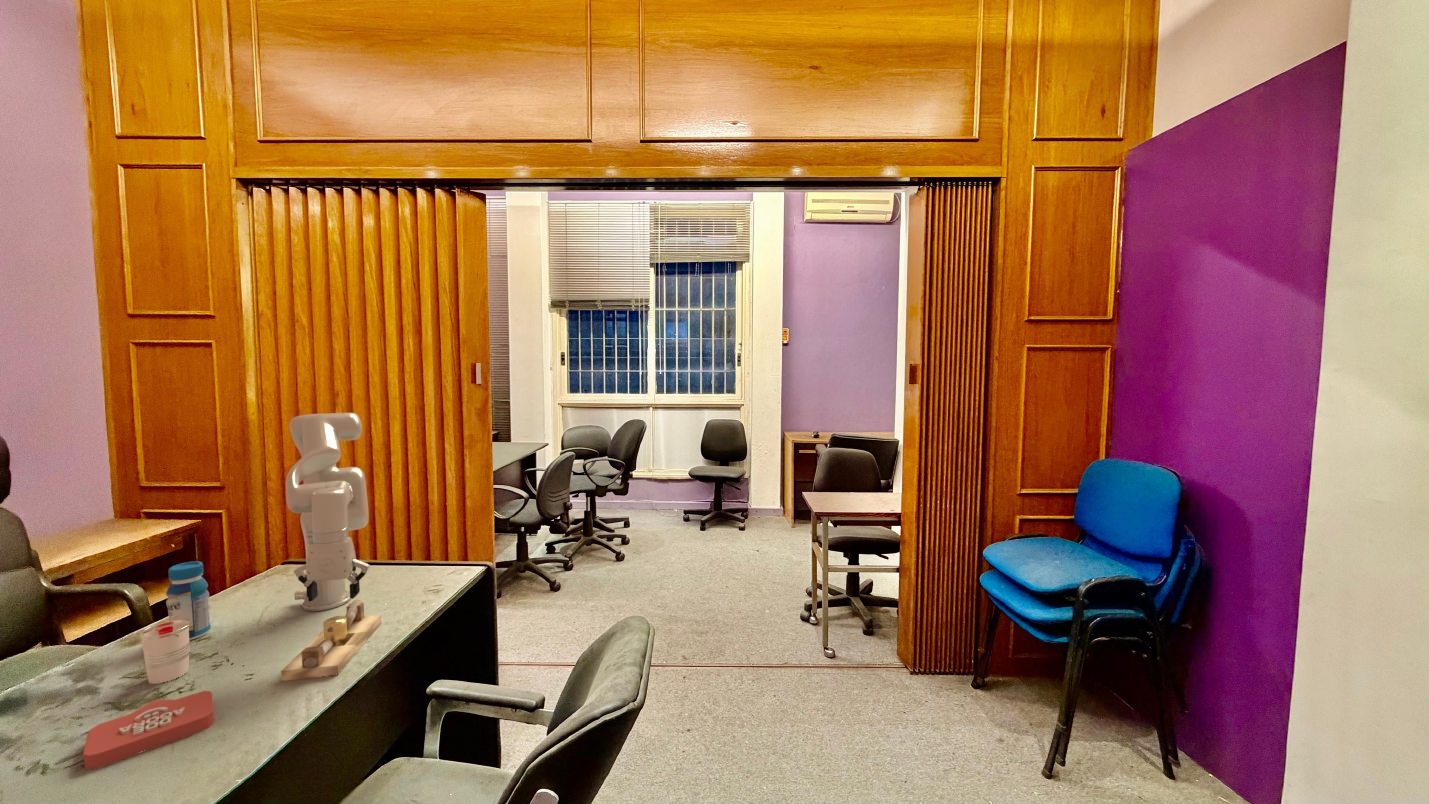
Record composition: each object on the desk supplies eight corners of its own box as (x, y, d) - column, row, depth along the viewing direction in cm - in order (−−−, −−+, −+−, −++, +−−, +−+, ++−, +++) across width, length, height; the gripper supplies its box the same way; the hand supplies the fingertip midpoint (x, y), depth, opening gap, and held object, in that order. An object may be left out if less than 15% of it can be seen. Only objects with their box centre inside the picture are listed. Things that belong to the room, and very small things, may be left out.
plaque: (210, 680, 121) (214, 711, 110) (211, 696, 121) (215, 728, 111) (90, 717, 108) (81, 756, 98) (91, 735, 108) (83, 775, 98)
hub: (319, 657, 137) (317, 627, 136) (330, 645, 142) (329, 616, 142) (341, 654, 138) (339, 625, 137) (351, 643, 143) (350, 614, 143)
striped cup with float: (203, 669, 131) (200, 623, 130) (158, 689, 123) (154, 640, 122) (178, 662, 134) (175, 616, 133) (133, 681, 126) (129, 632, 125)
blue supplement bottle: (215, 633, 148) (210, 564, 146) (172, 646, 141) (166, 574, 139) (207, 624, 153) (203, 557, 151) (166, 636, 146) (160, 566, 144)
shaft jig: (281, 680, 126) (279, 649, 126) (335, 626, 152) (334, 600, 151) (338, 675, 129) (336, 644, 128) (381, 622, 154) (380, 596, 154)
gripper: (284, 542, 132) (288, 607, 134) (361, 538, 136) (364, 602, 138) (301, 531, 140) (304, 593, 141) (373, 528, 143) (376, 589, 145)
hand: (333, 597), depth 140 cm, fingers open, 9 cm apart
